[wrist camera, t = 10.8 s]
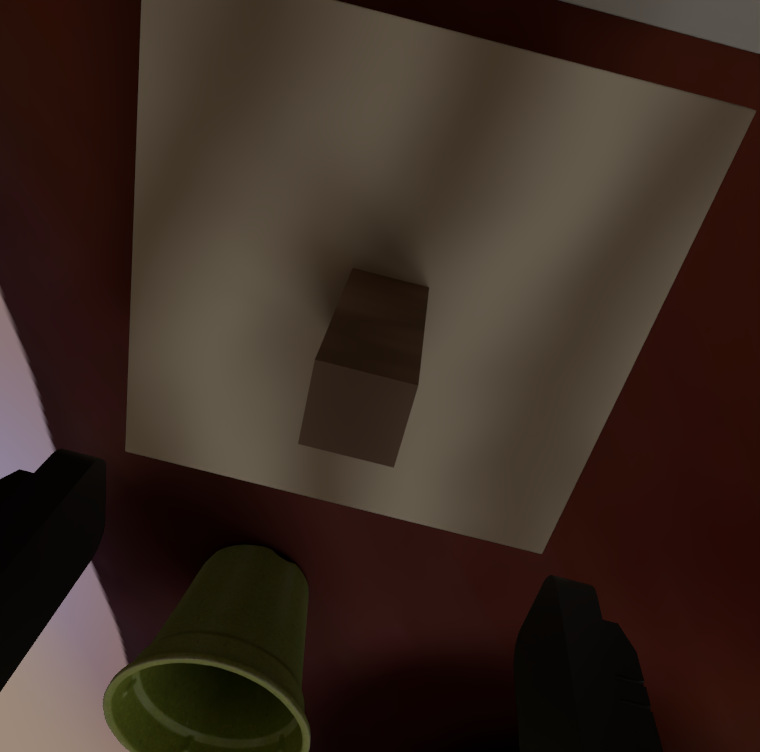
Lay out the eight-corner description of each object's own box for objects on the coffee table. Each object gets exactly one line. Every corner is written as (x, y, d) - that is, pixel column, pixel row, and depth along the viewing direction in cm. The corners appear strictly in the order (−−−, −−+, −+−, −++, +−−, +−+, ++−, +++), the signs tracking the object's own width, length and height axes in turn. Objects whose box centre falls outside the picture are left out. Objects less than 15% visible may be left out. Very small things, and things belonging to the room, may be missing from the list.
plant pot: (319, 511, 34) (279, 655, 26) (354, 637, 38) (329, 791, 31) (152, 523, 36) (69, 662, 28) (204, 642, 40) (145, 789, 32)
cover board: (744, 106, 17) (889, 157, 12) (539, 538, 25) (563, 699, 20) (156, -47, 17) (-3, -76, 11) (134, 439, 25) (34, 571, 19)
